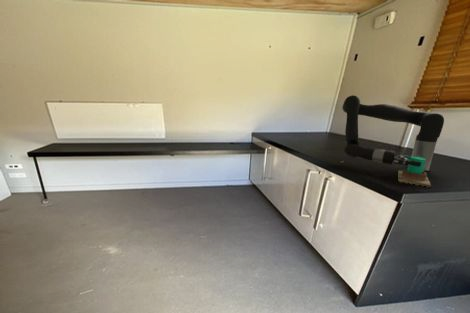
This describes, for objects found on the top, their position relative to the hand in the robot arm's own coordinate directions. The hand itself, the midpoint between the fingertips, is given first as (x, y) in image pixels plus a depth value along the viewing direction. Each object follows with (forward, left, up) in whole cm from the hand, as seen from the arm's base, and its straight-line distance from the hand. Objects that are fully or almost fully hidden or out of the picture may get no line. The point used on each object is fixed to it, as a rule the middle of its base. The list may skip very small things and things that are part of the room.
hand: (422, 162), depth 103 cm
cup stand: (0, -2, -9) cm, 10 cm away
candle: (0, -2, -8) cm, 9 cm away
